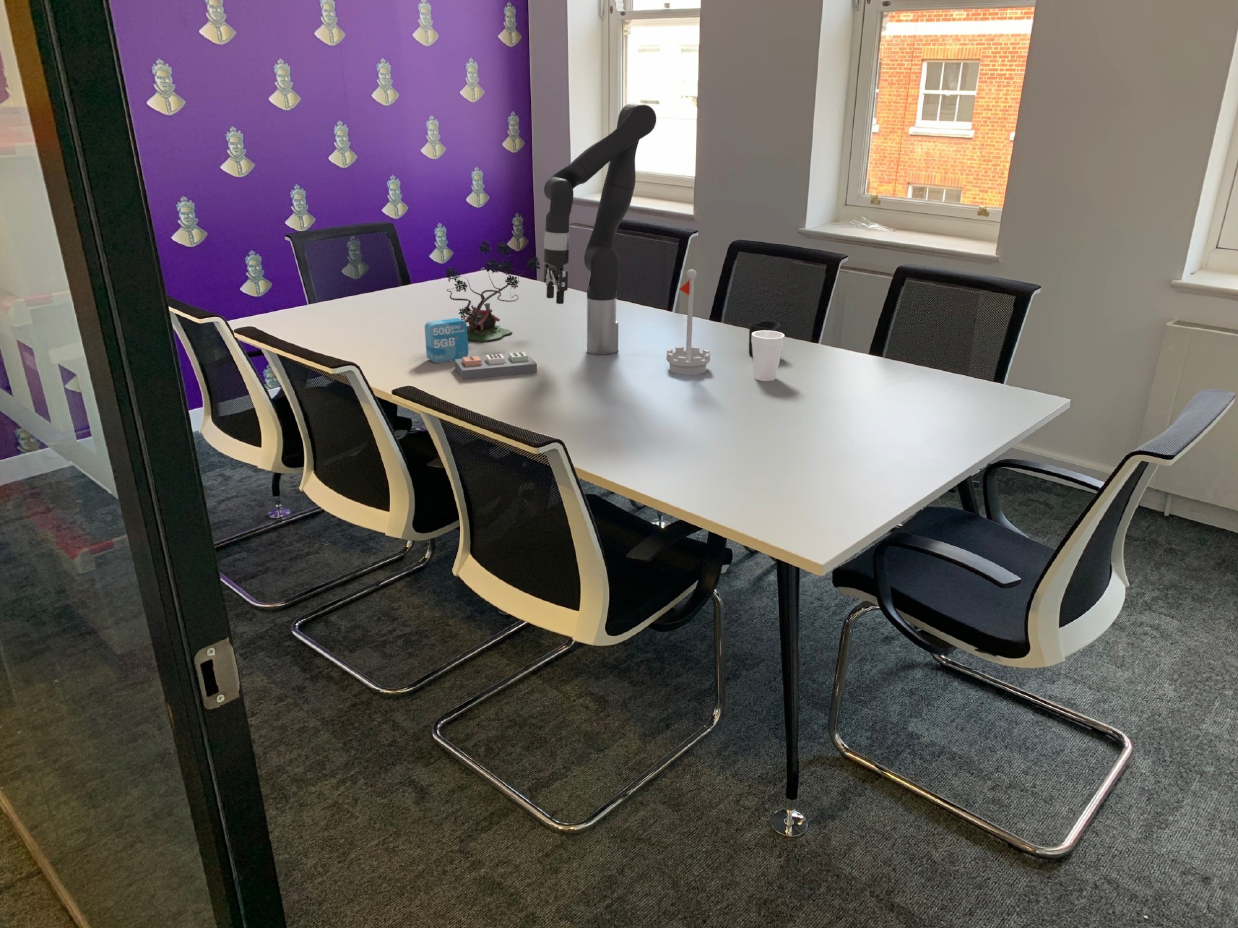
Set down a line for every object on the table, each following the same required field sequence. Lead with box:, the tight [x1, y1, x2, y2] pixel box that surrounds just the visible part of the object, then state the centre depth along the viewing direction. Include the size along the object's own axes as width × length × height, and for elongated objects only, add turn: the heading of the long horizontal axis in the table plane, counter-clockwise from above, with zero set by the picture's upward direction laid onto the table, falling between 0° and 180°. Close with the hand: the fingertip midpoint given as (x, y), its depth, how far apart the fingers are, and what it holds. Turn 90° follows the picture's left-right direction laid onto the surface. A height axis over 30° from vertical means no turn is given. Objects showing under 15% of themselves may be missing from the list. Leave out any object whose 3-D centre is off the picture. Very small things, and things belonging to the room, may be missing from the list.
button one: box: [462, 355, 481, 367], centre depth 276 cm, size 5×5×3 cm
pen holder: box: [748, 320, 781, 357], centre depth 297 cm, size 9×9×10 cm
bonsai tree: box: [445, 240, 541, 343], centre depth 312 cm, size 35×24×32 cm
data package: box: [424, 317, 469, 364], centre depth 289 cm, size 12×4×12 cm, turn 123°
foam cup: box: [751, 330, 785, 382], centre depth 274 cm, size 10×9×13 cm
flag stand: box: [666, 268, 711, 376], centre depth 278 cm, size 13×13×30 cm
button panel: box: [454, 352, 538, 381], centre depth 279 cm, size 22×12×3 cm, turn 110°
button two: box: [508, 351, 529, 362], centre depth 281 cm, size 5×5×3 cm
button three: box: [485, 353, 505, 365], centre depth 279 cm, size 5×5×3 cm
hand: (554, 300), depth 289 cm, fingers open, 8 cm apart
